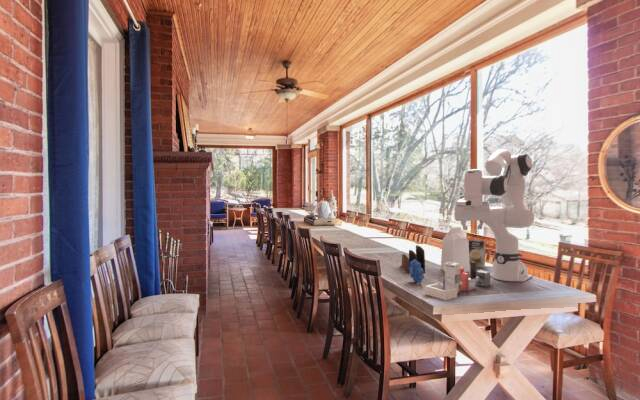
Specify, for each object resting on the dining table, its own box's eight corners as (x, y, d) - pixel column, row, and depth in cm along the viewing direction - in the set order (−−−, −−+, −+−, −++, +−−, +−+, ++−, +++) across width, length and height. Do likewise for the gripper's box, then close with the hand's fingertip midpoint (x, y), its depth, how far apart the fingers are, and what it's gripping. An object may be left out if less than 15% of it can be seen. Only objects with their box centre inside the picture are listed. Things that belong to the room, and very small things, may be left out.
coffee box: (467, 266, 255) (468, 240, 254) (470, 264, 260) (470, 239, 260) (483, 267, 250) (483, 241, 249) (485, 265, 255) (485, 240, 255)
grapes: (403, 280, 220) (403, 258, 219) (413, 279, 222) (413, 257, 221) (415, 285, 209) (415, 262, 208) (426, 284, 211) (426, 261, 211)
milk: (457, 267, 251) (457, 225, 249) (469, 271, 240) (470, 227, 239) (440, 269, 247) (440, 226, 246) (452, 273, 236) (452, 228, 235)
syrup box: (447, 290, 199) (447, 261, 198) (459, 292, 195) (459, 262, 195) (442, 293, 195) (443, 263, 194) (454, 295, 191) (455, 264, 190)
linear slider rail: (483, 281, 215) (483, 257, 215) (495, 283, 210) (496, 259, 209) (454, 288, 202) (454, 263, 201) (466, 291, 196) (466, 265, 195)
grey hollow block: (480, 283, 213) (480, 270, 212) (490, 285, 208) (490, 272, 208) (475, 284, 210) (475, 271, 210) (484, 287, 206) (485, 273, 205)
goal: (436, 291, 198) (436, 283, 198) (457, 297, 188) (457, 288, 188) (425, 294, 194) (425, 285, 193) (445, 300, 184) (445, 291, 183)
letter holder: (417, 266, 257) (417, 243, 256) (425, 273, 237) (425, 249, 237) (401, 266, 257) (401, 243, 256) (408, 273, 237) (408, 249, 237)
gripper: (484, 201, 210) (483, 227, 211) (452, 201, 202) (452, 229, 203) (493, 201, 204) (493, 229, 205) (461, 202, 196) (461, 231, 197)
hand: (472, 229), depth 204 cm, fingers open, 8 cm apart
